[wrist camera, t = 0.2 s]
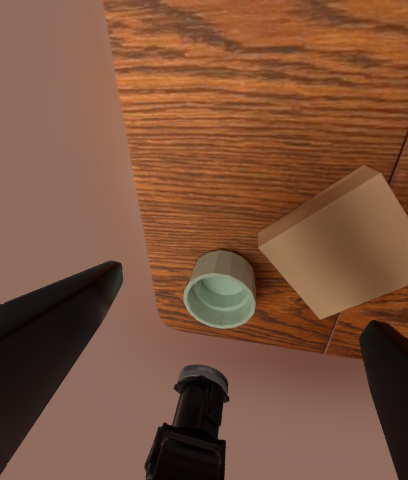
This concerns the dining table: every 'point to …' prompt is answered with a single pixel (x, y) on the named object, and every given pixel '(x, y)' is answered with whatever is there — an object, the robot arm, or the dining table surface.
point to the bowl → (221, 290)
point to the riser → (342, 244)
